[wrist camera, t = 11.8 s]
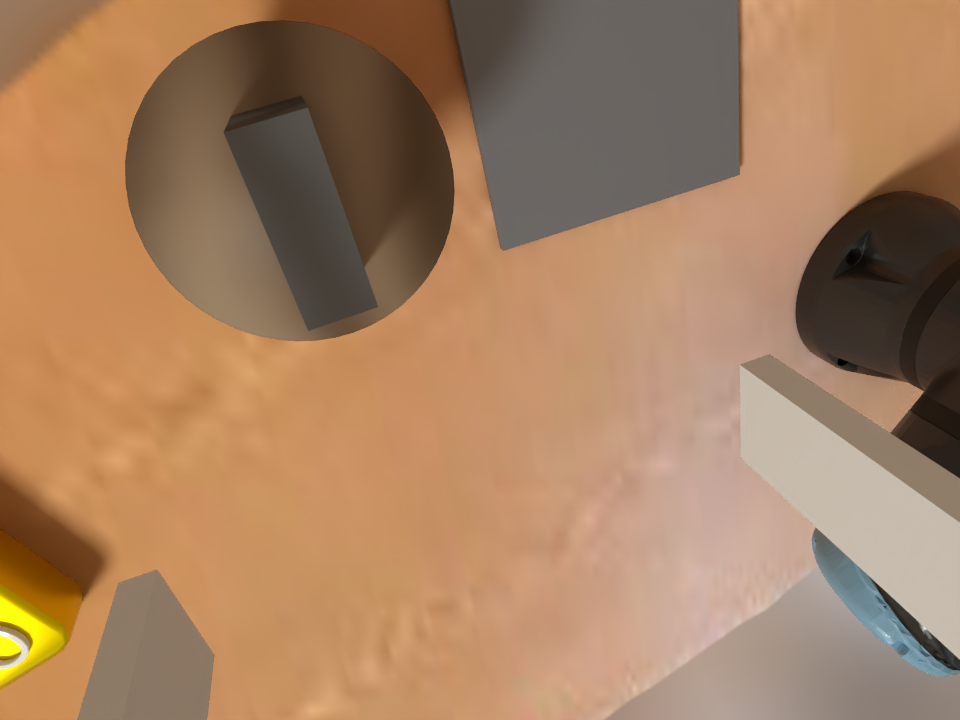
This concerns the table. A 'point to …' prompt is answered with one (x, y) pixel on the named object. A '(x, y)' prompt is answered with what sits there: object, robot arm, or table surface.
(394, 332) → the table surface
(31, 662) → the element tile
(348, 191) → the lid
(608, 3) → the mat
